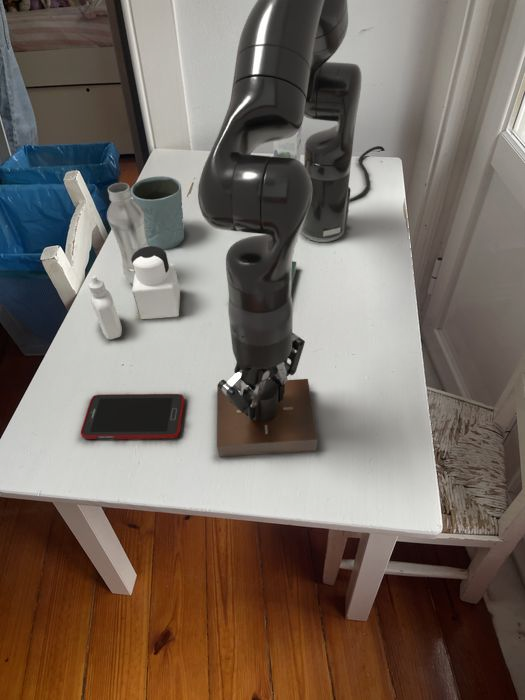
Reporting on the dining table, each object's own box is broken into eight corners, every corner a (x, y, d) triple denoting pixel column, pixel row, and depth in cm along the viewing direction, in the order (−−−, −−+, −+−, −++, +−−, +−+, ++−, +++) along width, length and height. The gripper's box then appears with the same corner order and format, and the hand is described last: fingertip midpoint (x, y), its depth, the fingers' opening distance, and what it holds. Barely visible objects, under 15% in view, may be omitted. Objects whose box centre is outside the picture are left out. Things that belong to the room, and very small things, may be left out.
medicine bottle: (143, 295, 94) (129, 243, 85) (180, 292, 94) (169, 240, 85) (140, 320, 89) (124, 267, 80) (179, 317, 89) (167, 264, 81)
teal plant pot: (134, 245, 105) (120, 195, 97) (157, 221, 112) (147, 172, 103) (174, 255, 103) (165, 204, 94) (196, 229, 109) (189, 179, 100)
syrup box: (300, 180, 123) (302, 121, 112) (296, 191, 119) (297, 132, 108) (278, 178, 124) (278, 120, 113) (273, 189, 120) (272, 130, 109)
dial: (277, 398, 72) (277, 375, 68) (279, 420, 69) (279, 398, 66) (250, 400, 72) (248, 377, 68) (251, 422, 69) (249, 400, 65)
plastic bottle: (153, 292, 94) (129, 199, 80) (121, 288, 96) (92, 195, 81) (164, 271, 99) (144, 180, 84) (133, 268, 100) (107, 177, 85)
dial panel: (307, 390, 77) (308, 377, 75) (316, 450, 69) (317, 438, 67) (219, 396, 77) (217, 383, 74) (218, 457, 69) (216, 445, 67)
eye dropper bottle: (128, 319, 89) (112, 267, 81) (119, 341, 86) (100, 288, 77) (105, 318, 90) (86, 266, 81) (95, 339, 86) (74, 287, 77)
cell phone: (179, 439, 71) (178, 435, 70) (80, 439, 72) (78, 436, 71) (185, 397, 76) (184, 393, 76) (93, 398, 77) (91, 394, 76)
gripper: (236, 370, 52) (245, 453, 65) (324, 307, 59) (317, 394, 71) (194, 335, 56) (210, 419, 69) (281, 280, 63) (281, 366, 75)
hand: (264, 406), depth 70 cm, fingers closed on dial, 4 cm apart
